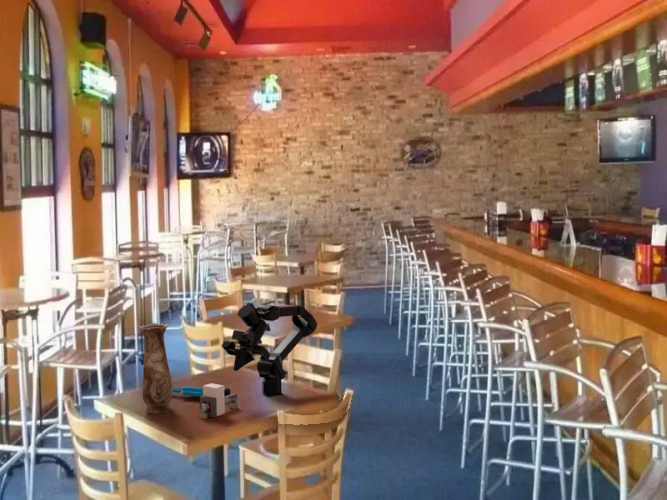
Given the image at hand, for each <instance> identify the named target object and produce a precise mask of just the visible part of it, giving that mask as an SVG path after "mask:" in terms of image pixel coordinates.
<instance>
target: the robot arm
mask: <svg viewBox="0 0 667 500" xmlns="http://www.w3.org/2000/svg"><path fill="white" fill-rule="evenodd" d="M237 317H238V318H239V319H240V320H241V321H242V322H243V323H244V325H245V326H246V327H248V329H247V330H245V331H243V330H238V329H237V330H236V329H233V332H232V335H231V339H232V341H231V340H223V343H222V344H221V348H222V349H223V350H224V352H226V353H227V355H230V356H234V364H233V371H234V372H238V371H239V370H240V369H242V368H243V367H245V366H246V365H248V364H250V363H252V362H254V361H256V358H255V357H256V356H260V357H259V360H258V361H257V364H256V369H257V374H258V376H259V378H262V381H261V393H262V394H263V395H264V396H265V397H273V396H282V395H284V393H283V392H282V389H283V388H282V380H283V379H285V378H286V374H287V373H286V370H285V369H284V368H283V367H284V365H283V363H284V361H285V359H286V358H287V357H288V356H289V354H290V353H291V352H292V351H293V350H294V349H295V347H296V346H298V344H299V343H300V341H302V339H303V338H306V337H308V336H310V335H312V334H313V333H314V332H315V331H316V330H317V327H318V322H317V321H316V318H315V317H314V315H312V313H310V312H309V311H308V310H307V308H305V306H304V305H301V304H291V305H278V306H277V305H270V304H263V303H262V304H258V305H257V307H255V305H254V303H252V302H247V303H246V305H244V306H242V307H240V308H239V309H238V311H237ZM283 317H291V321H292V330H291V332H289V333H288V335H287V336H286V337H285V338H284V339H283V340H282V341H281V343H279V345H278V346H277V347H276V348H275V349H274V350H273V351H272V352H270V351H269V349H267V347H265V346H264V345H262V343H263V341H262V338H263V336H264V334H265V332H271V327H270V323H267V322H274V321H276V320H278V319H280V318H283ZM266 321H267V322H266ZM233 340H234V341H233ZM235 340H236V343H237V344H236V343H235Z"/></svg>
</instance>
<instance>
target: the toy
mask: <svg viewBox="0 0 667 500" xmlns="http://www.w3.org/2000/svg"><path fill="white" fill-rule="evenodd" d="M230 389H231V388H227V387H226V386H224V397H225V396H228V395H231V390H230ZM172 393H177V394H181V395H182V396H187V397H188V396H189V397H198V398H200V396H203V387H201V386H200V387H199V386H191V385H190V386H189V385H185V386H182V387H176V386H172Z"/></svg>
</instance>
